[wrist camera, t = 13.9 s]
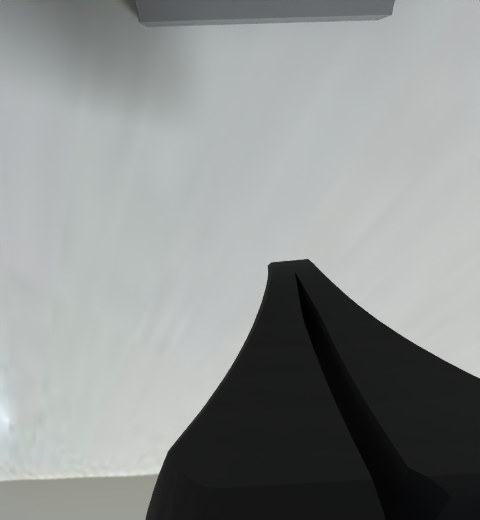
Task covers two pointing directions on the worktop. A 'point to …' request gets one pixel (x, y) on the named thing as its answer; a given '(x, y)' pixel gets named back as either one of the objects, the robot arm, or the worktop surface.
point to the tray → (258, 11)
